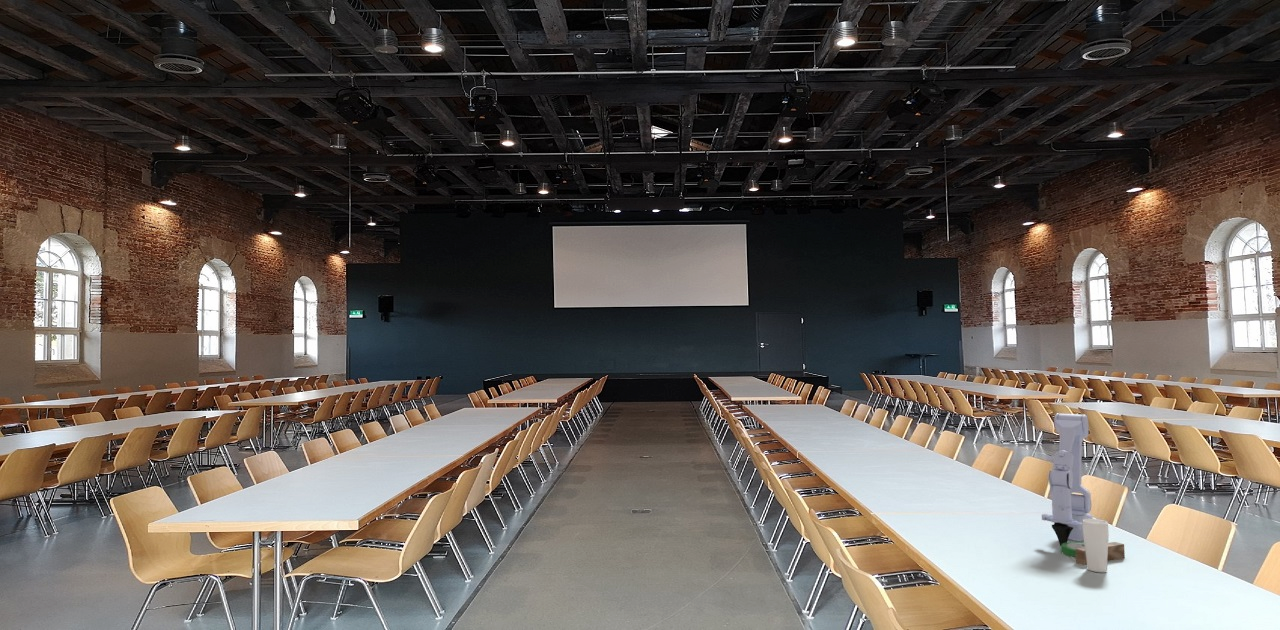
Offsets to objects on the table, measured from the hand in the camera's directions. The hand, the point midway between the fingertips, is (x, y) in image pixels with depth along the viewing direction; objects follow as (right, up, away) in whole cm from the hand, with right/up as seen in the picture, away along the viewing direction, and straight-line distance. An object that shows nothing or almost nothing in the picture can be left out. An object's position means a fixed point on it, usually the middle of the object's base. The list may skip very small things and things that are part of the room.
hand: (1063, 546), depth 244 cm
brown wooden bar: (+5, -1, -12) cm, 13 cm away
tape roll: (+2, -1, -6) cm, 6 cm away
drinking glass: (-3, -1, -22) cm, 22 cm away
